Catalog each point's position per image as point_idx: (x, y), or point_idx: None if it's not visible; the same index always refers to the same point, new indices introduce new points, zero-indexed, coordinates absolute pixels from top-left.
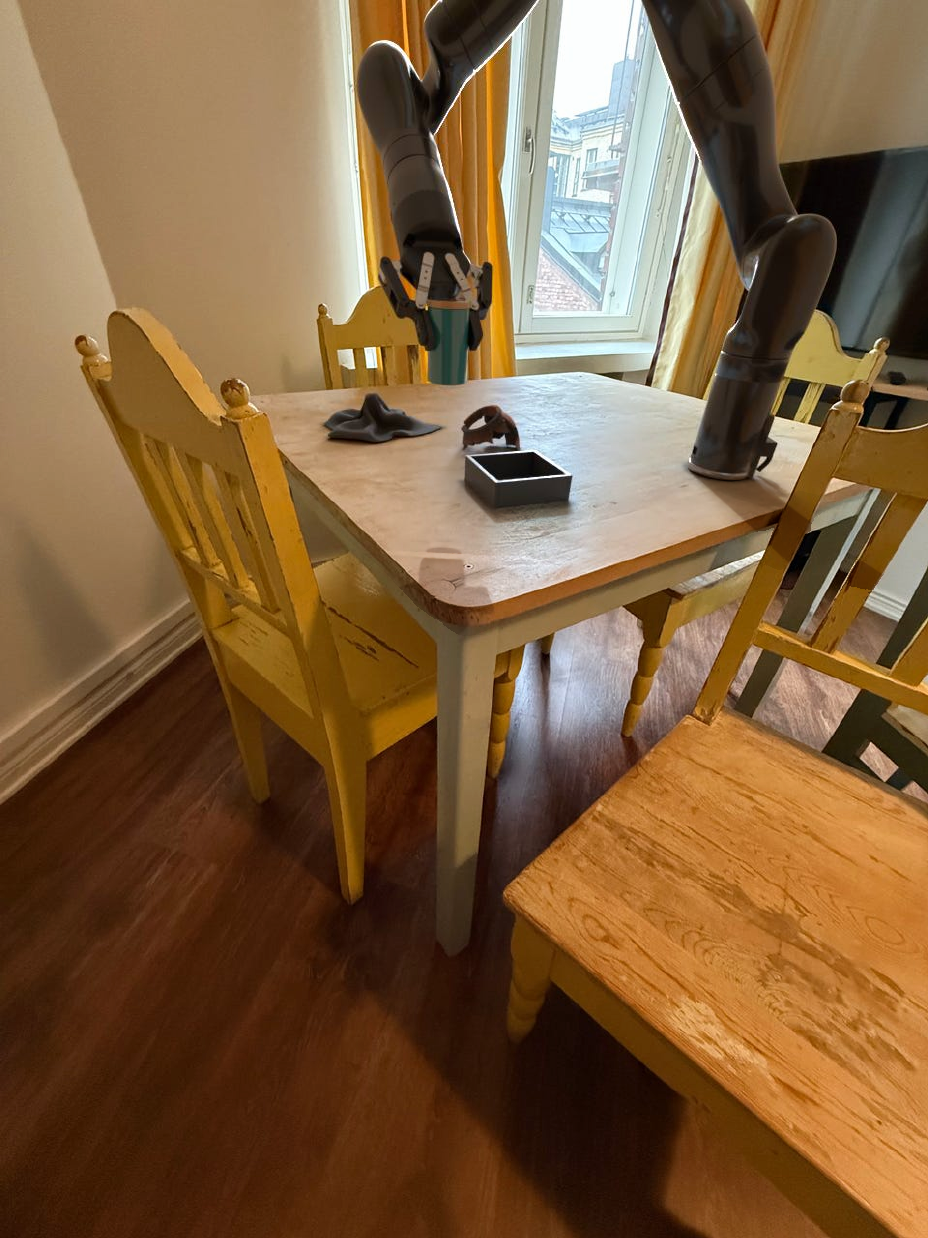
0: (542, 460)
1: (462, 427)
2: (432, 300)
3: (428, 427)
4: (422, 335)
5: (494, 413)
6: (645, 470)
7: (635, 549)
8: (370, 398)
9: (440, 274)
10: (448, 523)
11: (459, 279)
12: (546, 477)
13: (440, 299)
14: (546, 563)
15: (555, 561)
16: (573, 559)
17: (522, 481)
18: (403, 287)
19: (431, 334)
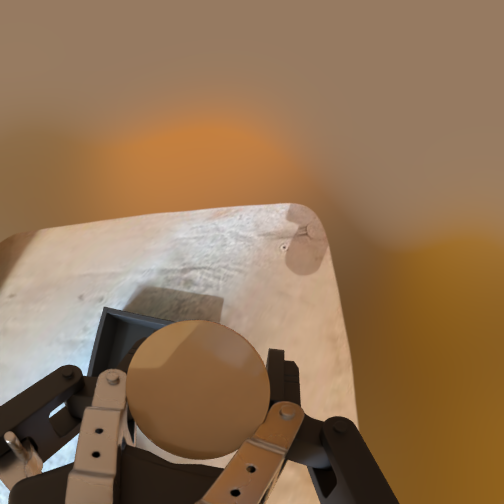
0: (94, 371)
1: None
2: (265, 371)
3: None
4: (294, 365)
5: None
6: (4, 343)
7: (142, 220)
8: None
9: (162, 492)
10: (263, 328)
11: (108, 433)
12: (133, 313)
13: (220, 401)
14: (221, 228)
15: (212, 228)
16: (197, 225)
17: (163, 319)
18: (338, 460)
19: (276, 352)
